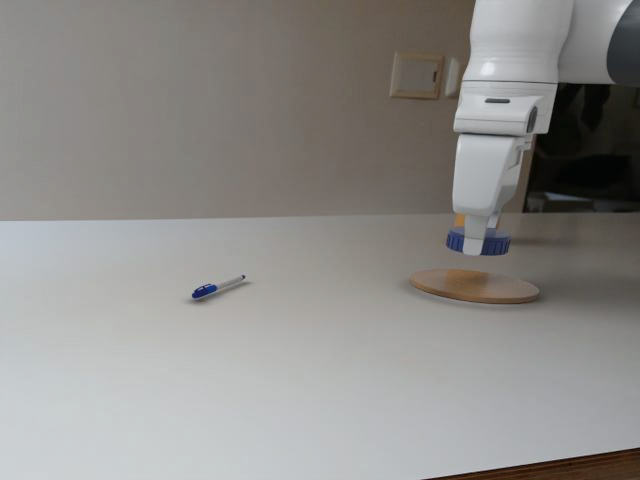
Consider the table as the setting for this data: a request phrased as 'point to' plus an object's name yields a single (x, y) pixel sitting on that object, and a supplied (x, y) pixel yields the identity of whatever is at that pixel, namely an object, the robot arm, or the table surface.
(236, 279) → the ballpoint pen
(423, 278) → the coaster
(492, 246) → the lid
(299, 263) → the table surface
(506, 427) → the table surface
